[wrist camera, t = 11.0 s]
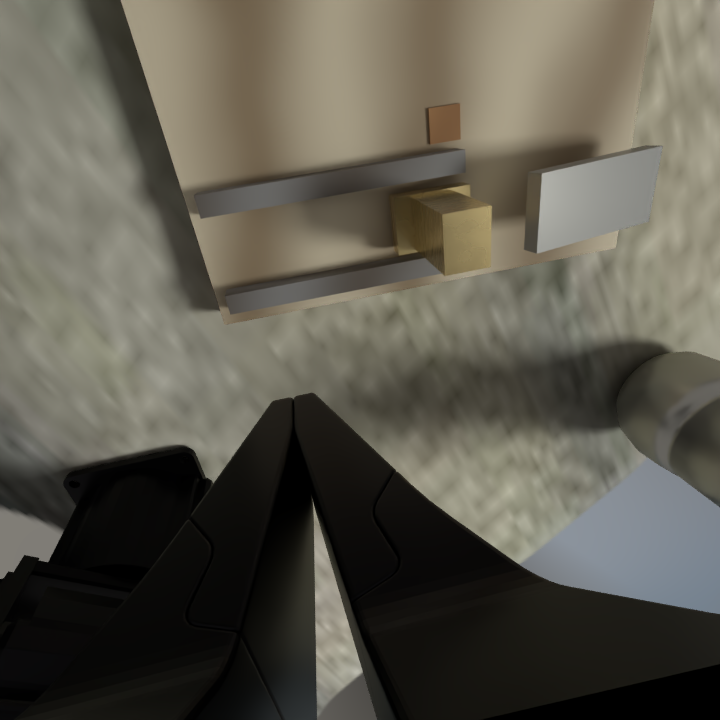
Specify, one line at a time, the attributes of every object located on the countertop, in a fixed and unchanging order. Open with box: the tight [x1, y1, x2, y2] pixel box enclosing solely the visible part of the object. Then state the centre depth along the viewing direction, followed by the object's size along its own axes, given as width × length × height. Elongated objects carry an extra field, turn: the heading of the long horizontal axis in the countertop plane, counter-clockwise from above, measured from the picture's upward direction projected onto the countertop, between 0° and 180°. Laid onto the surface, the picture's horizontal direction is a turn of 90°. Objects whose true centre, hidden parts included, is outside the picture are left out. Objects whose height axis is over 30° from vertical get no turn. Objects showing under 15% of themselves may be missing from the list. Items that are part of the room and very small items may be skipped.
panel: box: [121, 0, 654, 325], centre depth 15 cm, size 18×18×4 cm
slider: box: [389, 182, 492, 276], centre depth 16 cm, size 3×2×4 cm
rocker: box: [524, 146, 663, 254], centre depth 17 cm, size 6×3×1 cm, turn 97°
